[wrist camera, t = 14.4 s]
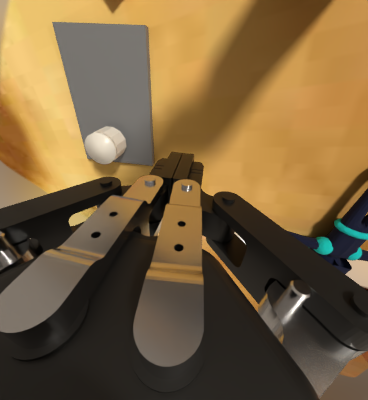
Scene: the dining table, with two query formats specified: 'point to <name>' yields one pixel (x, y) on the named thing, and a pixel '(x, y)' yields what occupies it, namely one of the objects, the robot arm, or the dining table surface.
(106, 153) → the white domed knob
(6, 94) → the dining table surface
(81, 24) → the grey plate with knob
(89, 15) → the dining table surface
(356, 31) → the dining table surface
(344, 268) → the toy
